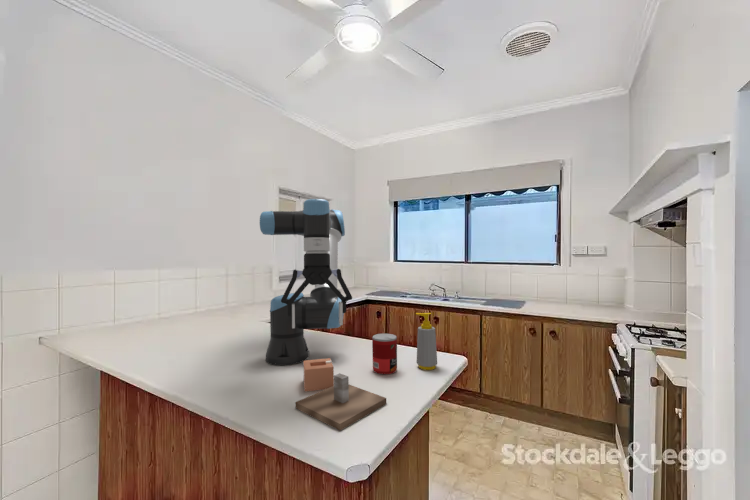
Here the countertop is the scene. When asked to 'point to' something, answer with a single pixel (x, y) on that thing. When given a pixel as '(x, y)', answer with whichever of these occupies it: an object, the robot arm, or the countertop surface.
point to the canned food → (384, 353)
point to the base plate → (340, 403)
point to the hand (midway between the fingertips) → (317, 325)
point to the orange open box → (318, 374)
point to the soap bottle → (426, 345)
